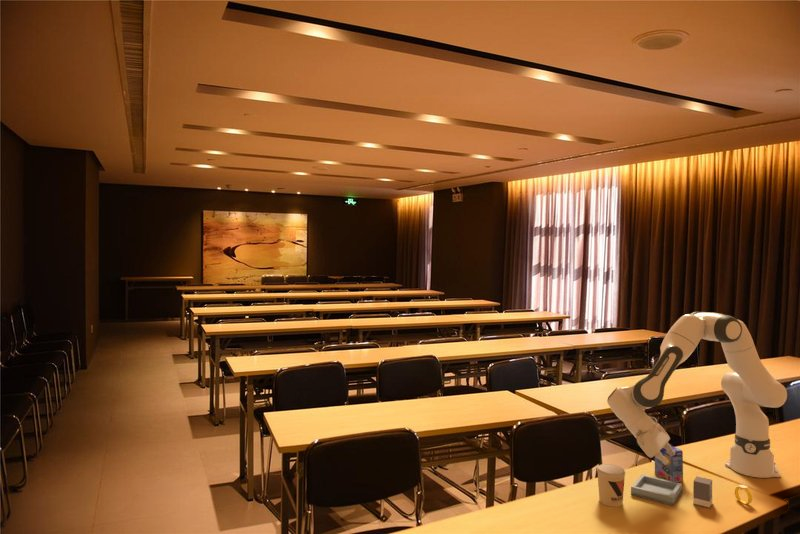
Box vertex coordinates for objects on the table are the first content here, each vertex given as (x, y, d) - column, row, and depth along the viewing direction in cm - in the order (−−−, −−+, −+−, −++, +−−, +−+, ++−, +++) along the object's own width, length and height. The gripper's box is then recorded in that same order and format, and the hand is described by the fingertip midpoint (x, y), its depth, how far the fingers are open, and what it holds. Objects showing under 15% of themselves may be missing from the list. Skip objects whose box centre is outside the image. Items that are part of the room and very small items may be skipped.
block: (696, 499, 195) (696, 476, 194) (712, 503, 191) (712, 479, 191) (693, 504, 191) (693, 480, 190) (709, 508, 187) (709, 484, 187)
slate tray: (641, 482, 210) (641, 474, 209) (681, 491, 201) (681, 483, 201) (630, 494, 199) (630, 486, 199) (672, 505, 190) (672, 497, 190)
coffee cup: (612, 510, 187) (612, 475, 187) (591, 499, 195) (591, 466, 195) (630, 504, 191) (631, 470, 191) (609, 493, 200) (609, 461, 199)
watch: (733, 500, 194) (732, 483, 194) (739, 499, 195) (738, 482, 195) (748, 506, 188) (747, 489, 189) (754, 505, 189) (753, 488, 189)
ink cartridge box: (653, 473, 218) (653, 437, 217) (665, 471, 219) (665, 436, 219) (671, 483, 208) (672, 446, 208) (683, 481, 210) (683, 444, 209)
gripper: (640, 430, 194) (670, 463, 188) (655, 416, 209) (683, 446, 204) (627, 439, 197) (656, 473, 191) (643, 425, 212) (670, 455, 207)
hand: (670, 459), depth 197 cm, fingers open, 8 cm apart
